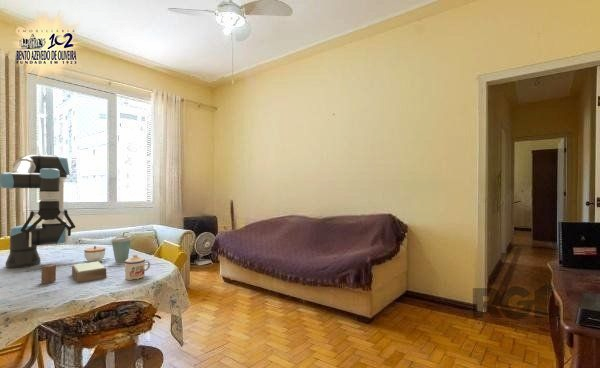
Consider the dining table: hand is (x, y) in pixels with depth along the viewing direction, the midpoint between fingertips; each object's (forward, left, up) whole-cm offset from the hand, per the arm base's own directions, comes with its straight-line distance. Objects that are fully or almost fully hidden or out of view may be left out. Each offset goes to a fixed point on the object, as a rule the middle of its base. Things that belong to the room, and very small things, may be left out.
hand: (48, 244), depth 146 cm
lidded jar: (-32, +24, -18) cm, 44 cm away
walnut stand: (+1, +16, -18) cm, 24 cm away
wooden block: (0, 0, -18) cm, 18 cm away
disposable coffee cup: (-22, +36, -18) cm, 46 cm away
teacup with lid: (+20, +34, -18) cm, 43 cm away
